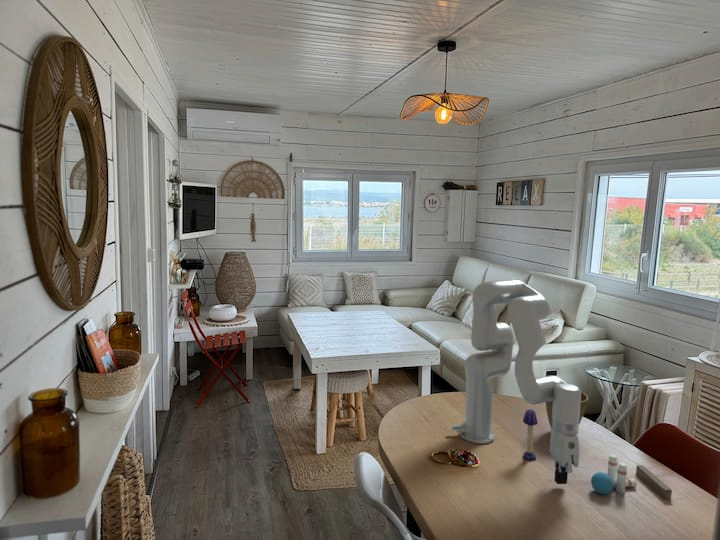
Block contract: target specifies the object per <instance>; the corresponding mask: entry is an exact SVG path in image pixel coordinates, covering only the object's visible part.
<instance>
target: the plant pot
mask: <svg viewBox="0 0 720 540" xmlns="http://www.w3.org/2000/svg"><path fill="white" fill-rule="evenodd" d="M588 400H589V397H588V395H587V394H586V393H584V392H583V391H581V402H580V415H579V425H580V424H581V422H582V419H583V416H584V413H585V411H586V406H587V404H588ZM545 408H546V409H545V410H546V414H547V420H548V423H549V426H550V427H549V428H550V430H551V431H552V429H551V423H552V409H553V401H548V402H545Z"/></svg>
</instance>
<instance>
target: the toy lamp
mask: <svg viewBox="0 0 720 540" xmlns="http://www.w3.org/2000/svg"><path fill="white" fill-rule="evenodd" d="M522 421H523V424H525V425H527V428H526V429H527V433H526V434H527V437H526V439H527V440H526V443H527V444H526V451H525V452H523V455H522V458H523V459H524V460H526V461H528V462H529V461H530V462H534V461H536V459H537V457H536V454H535V452H533V439H534V436H533V435H534V432H533V431H534V428H533V427H534V426H536V425H537V424H538V419H537V414H536V411H535V410H534V409H526V410H525V413H524V416H523V418H522Z"/></svg>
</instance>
